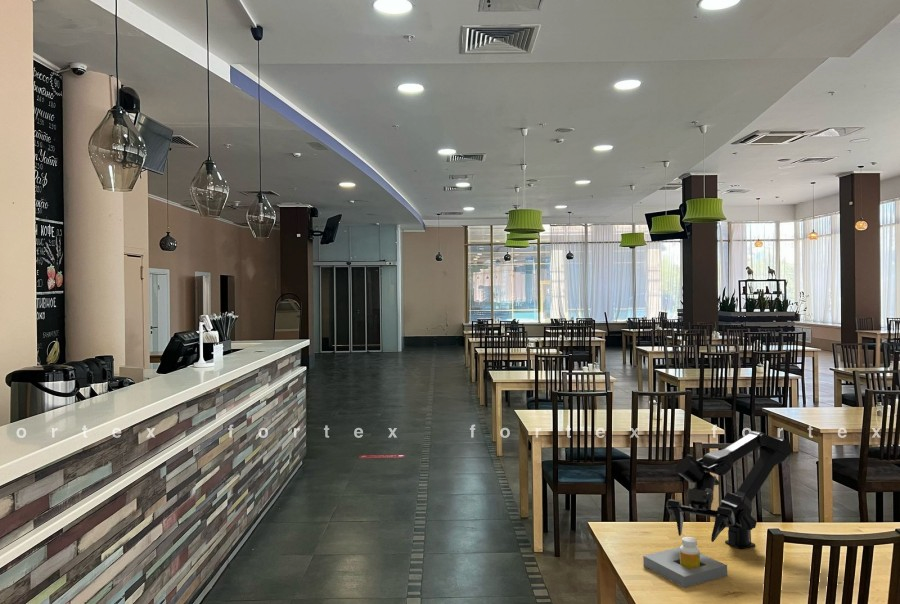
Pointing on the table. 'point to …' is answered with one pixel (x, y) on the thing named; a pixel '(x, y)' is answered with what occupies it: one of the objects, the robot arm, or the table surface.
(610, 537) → the table surface
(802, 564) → the table surface
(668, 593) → the table surface
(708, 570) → the holder
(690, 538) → the supplement bottle
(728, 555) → the table surface
